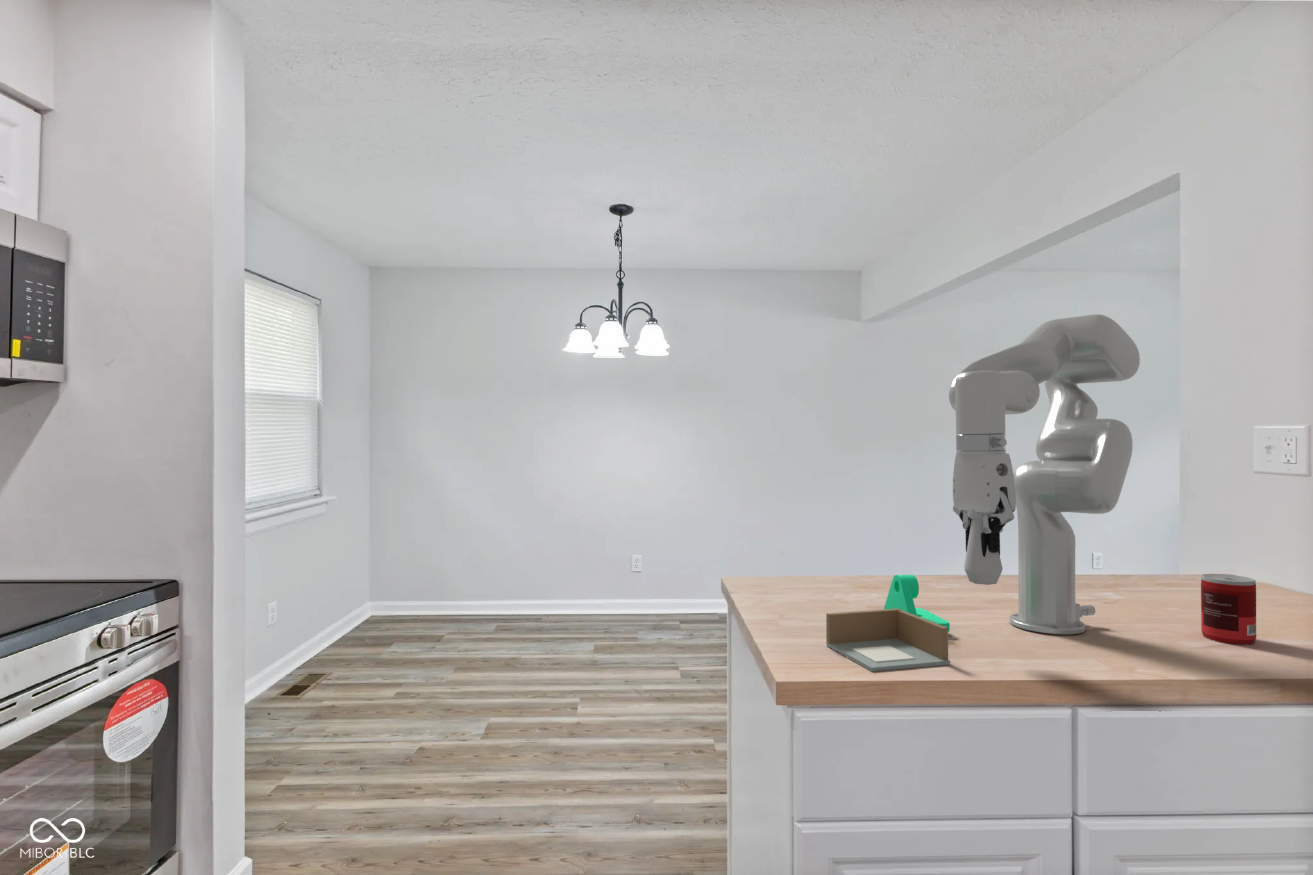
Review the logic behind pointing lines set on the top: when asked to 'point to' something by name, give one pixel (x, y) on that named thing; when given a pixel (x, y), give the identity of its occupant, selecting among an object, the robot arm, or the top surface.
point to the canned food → (1228, 608)
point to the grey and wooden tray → (887, 639)
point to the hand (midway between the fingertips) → (982, 553)
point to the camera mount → (909, 599)
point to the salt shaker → (980, 555)
